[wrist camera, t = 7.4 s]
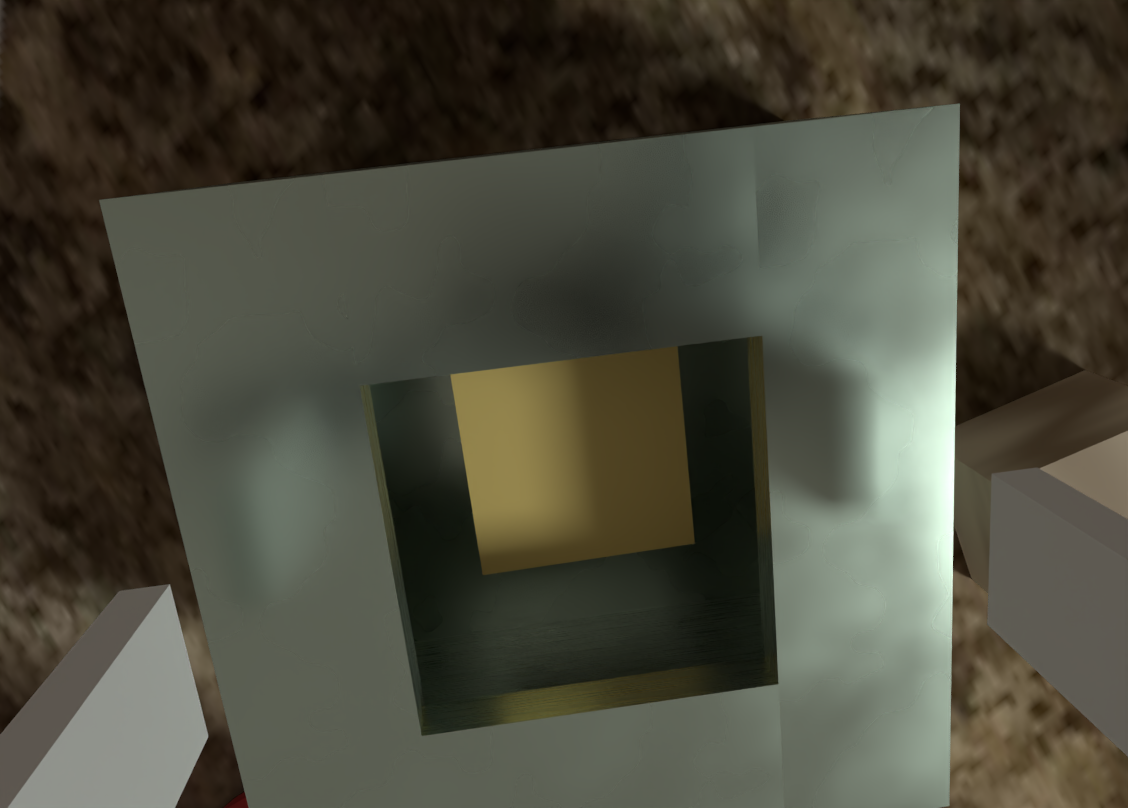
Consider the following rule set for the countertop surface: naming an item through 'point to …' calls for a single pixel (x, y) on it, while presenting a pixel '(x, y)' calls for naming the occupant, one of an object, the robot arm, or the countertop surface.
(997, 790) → the countertop surface
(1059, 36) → the countertop surface
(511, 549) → the block
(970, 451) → the block
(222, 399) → the box
